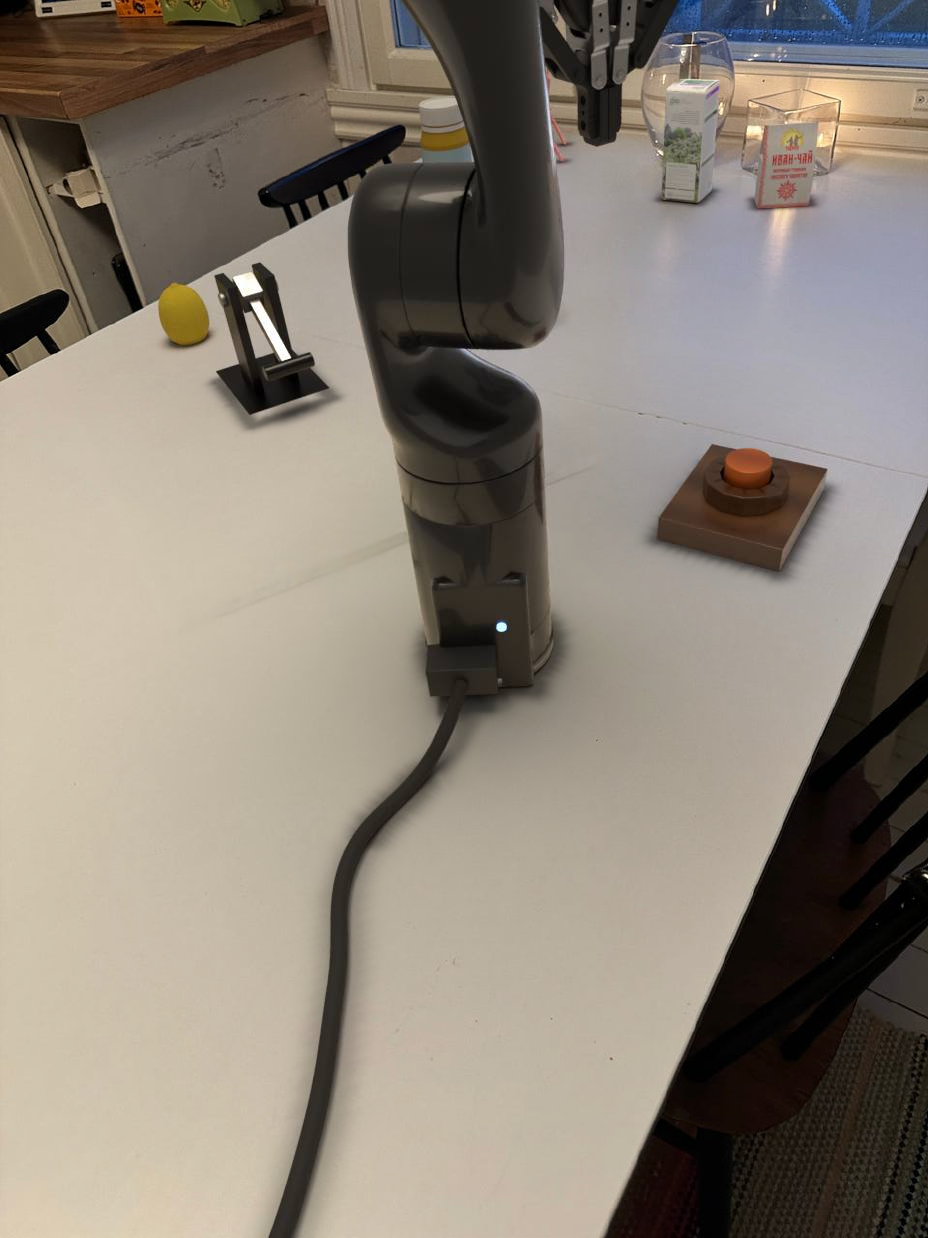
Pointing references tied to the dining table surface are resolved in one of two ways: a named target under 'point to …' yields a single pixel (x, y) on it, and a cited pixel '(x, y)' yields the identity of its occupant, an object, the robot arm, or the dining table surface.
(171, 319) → the lemon
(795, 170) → the tea box
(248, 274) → the lever
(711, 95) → the syrup box
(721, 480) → the button box
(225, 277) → the bracket
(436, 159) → the bottle
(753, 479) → the button
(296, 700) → the dining table surface
